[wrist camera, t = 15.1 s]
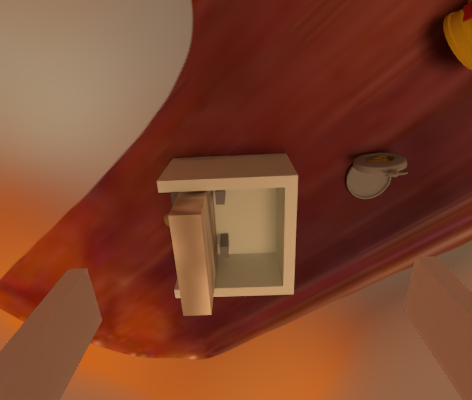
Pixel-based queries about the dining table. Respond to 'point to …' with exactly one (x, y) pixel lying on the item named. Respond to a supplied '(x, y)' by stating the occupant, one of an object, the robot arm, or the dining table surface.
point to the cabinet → (245, 218)
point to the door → (194, 249)
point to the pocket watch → (373, 173)
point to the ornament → (460, 33)
